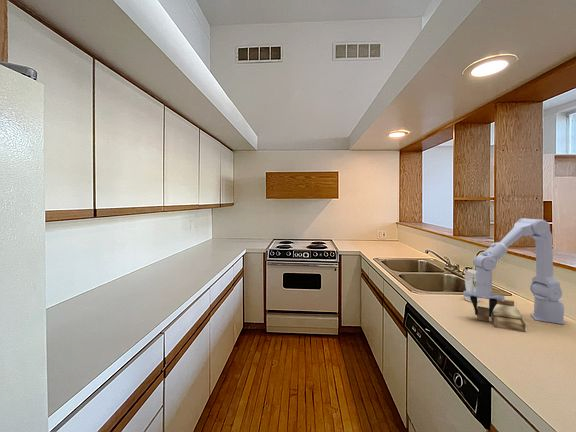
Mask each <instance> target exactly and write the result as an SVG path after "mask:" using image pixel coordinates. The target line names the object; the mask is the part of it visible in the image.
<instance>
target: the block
mask: <svg viewBox="0 0 576 432" xmlns="http://www.w3.org/2000/svg"><path fill="white" fill-rule="evenodd" d="M476 319H477V320H479V321H485V322H489V321H490V317H489V307H485V306H478V305H477V315H476Z"/></svg>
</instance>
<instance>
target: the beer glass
mask: <svg viewBox="0 0 576 432" xmlns="http://www.w3.org/2000/svg"><path fill="white" fill-rule="evenodd" d="M464 285H465V291H473V292H476V269H466V270H465V272H464ZM464 298H465V299H464V300H465V301H467V302H470V303H472V301H471V299H470V297H468V296H467V297H464ZM479 302H480V298H477V303H479Z"/></svg>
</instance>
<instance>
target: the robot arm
mask: <svg viewBox="0 0 576 432" xmlns="http://www.w3.org/2000/svg"><path fill="white" fill-rule="evenodd" d="M527 236H530V237H531V238H533V239H534V240H535V264H536V265H535V268H536V269H535V271H536V273H535V275H534V276H533V277H532V278H531V283H530V286H529V290H530V292H531V293H532V296H533V297H534V300H533V301H534V303H533V304H534V305H533V312H532V313H530V315H531V316H532V318H533V320H535V321H540V322H546V323H551V324H552V323H553V324H560V325H564V324H565V322H564V320H565V318H564V315H565V305H564V301H562V300H561V298H562V295H563V291H562V288H561V282H559V281H558V280H557V278H555V277H554V260H553V259H554V258H553V257H554V256H553V252H554V249H553V235H552V232H551V224H550V223H549V222H548V221H546V220H545V219H541V218H539V219H538V218H536V219H535V218H525V217H522V218H520V219H518V220H517V221H516V222H515V223H514V224H513V227H512V229H511V230H510V231H509V232H508V233H507V234H506V235H505V236H504V237H503V238H502V239H501V240H500V241H499V242H494V243H493V242H492V243H491V244H490V246H489V247H487V249H486V250H485V251H483V252H482V254H478V255H476V256H475V257H474V259H473V260H472V263H473V265H474V268H475V270H476V292H473V291H466V290H463V297H464V298H466V297H467V296H468V297H470V299H471V301H472V302H471V303H472V306H473V308H474V309H473V310H474V314H475V316H477V306H478V302H477V298H479V299H484V300H485V299H486V300H488V308H489V318H491V314H492V311H493V309H494V307H495V306H496V305H497V300H500V301H504V300H506V299H505V295H500V294H496V293H492V291H493V270H495V269H496V267H497V263H498V262H499V260H500V259H502V257H504V256H505V255H506V254H507V253H508V248H509V247H510V246H511V245H512V244H515V242H517V241H518V240H519V239H520V238H521V237H527Z"/></svg>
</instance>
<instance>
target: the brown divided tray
mask: <svg viewBox="0 0 576 432" xmlns="http://www.w3.org/2000/svg"><path fill="white" fill-rule="evenodd" d="M490 318H491V322H492V325H493V327H494V328H499V329H504V330H510V331H515V332H516V331H517V332H522V333H526V323H525V320H524V319H523V318H522V319H517V318H510V317H503V316H497V315H493V312H492V314H491V317H490Z"/></svg>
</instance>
